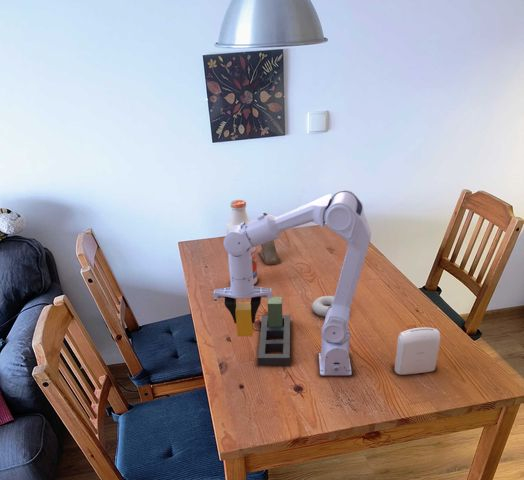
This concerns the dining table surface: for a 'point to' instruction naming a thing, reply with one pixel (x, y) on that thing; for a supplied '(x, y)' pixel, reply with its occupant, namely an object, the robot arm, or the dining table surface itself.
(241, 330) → the mustard peg
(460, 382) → the dining table surface
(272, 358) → the peg stand
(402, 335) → the photo printer
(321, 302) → the donut
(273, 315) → the green peg
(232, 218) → the fruit juice
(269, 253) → the worn brown figurine
